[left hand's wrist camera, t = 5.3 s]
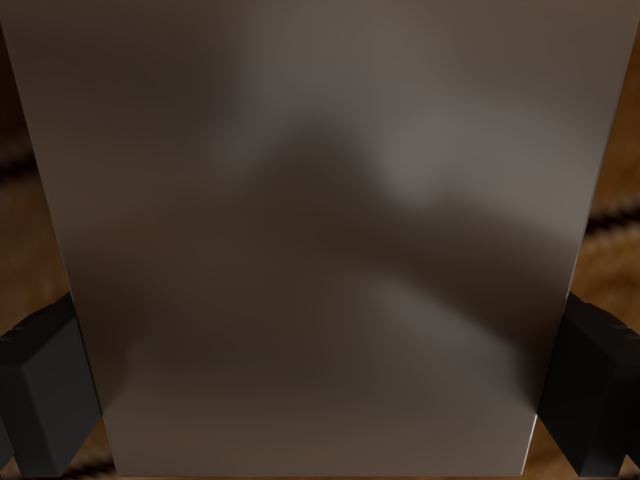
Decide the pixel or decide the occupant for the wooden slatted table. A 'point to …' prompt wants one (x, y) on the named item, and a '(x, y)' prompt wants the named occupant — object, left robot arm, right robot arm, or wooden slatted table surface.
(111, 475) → the wooden slatted table surface
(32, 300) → the wooden slatted table surface
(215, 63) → the cabinet
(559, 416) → the left robot arm
